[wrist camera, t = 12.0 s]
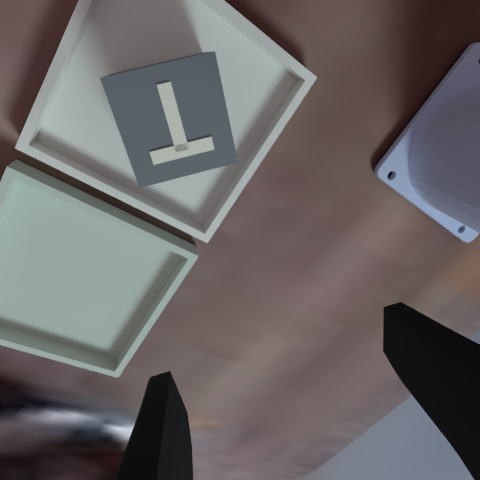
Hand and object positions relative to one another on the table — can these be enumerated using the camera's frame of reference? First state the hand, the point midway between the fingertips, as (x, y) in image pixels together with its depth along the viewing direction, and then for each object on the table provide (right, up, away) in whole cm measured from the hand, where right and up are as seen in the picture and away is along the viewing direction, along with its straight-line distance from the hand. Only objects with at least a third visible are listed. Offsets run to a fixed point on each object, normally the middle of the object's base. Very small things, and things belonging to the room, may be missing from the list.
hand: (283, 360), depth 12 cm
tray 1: (-5, +10, +5) cm, 12 cm away
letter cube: (-5, +10, +5) cm, 12 cm away
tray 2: (-10, +2, +8) cm, 13 cm away
